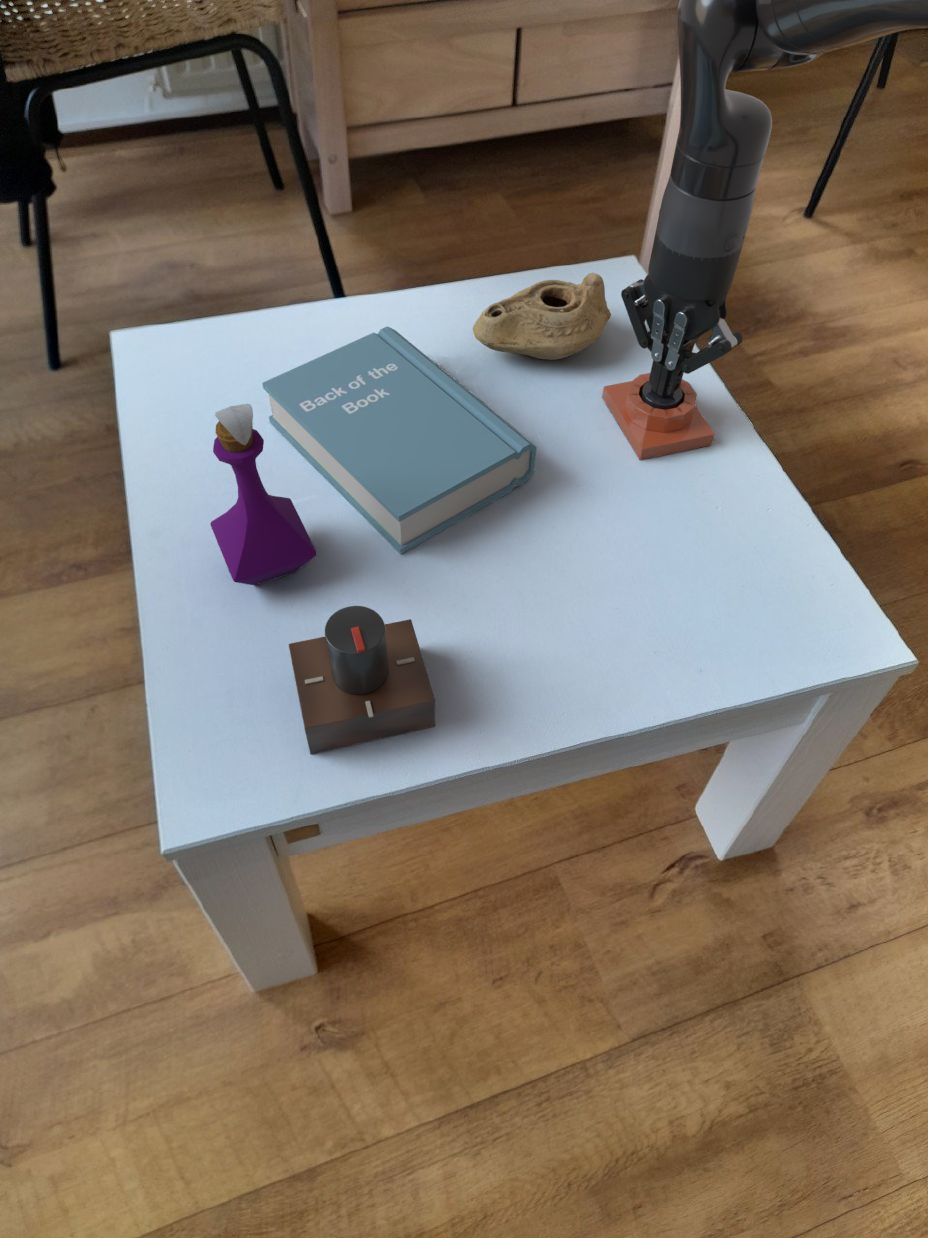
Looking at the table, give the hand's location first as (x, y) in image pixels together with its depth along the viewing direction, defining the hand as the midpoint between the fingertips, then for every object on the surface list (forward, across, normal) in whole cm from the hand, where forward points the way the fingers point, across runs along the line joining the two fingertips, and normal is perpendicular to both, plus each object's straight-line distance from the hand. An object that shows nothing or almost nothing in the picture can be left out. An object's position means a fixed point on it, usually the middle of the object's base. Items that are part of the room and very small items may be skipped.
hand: (662, 391), depth 93 cm
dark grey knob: (+2, 0, 0) cm, 2 cm away
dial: (0, -5, +44) cm, 44 cm away
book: (+4, +15, +22) cm, 27 cm away
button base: (+4, 0, 0) cm, 4 cm away
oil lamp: (+4, +16, 0) cm, 17 cm away
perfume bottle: (+4, +12, +41) cm, 43 cm away
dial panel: (+4, -5, +44) cm, 44 cm away
